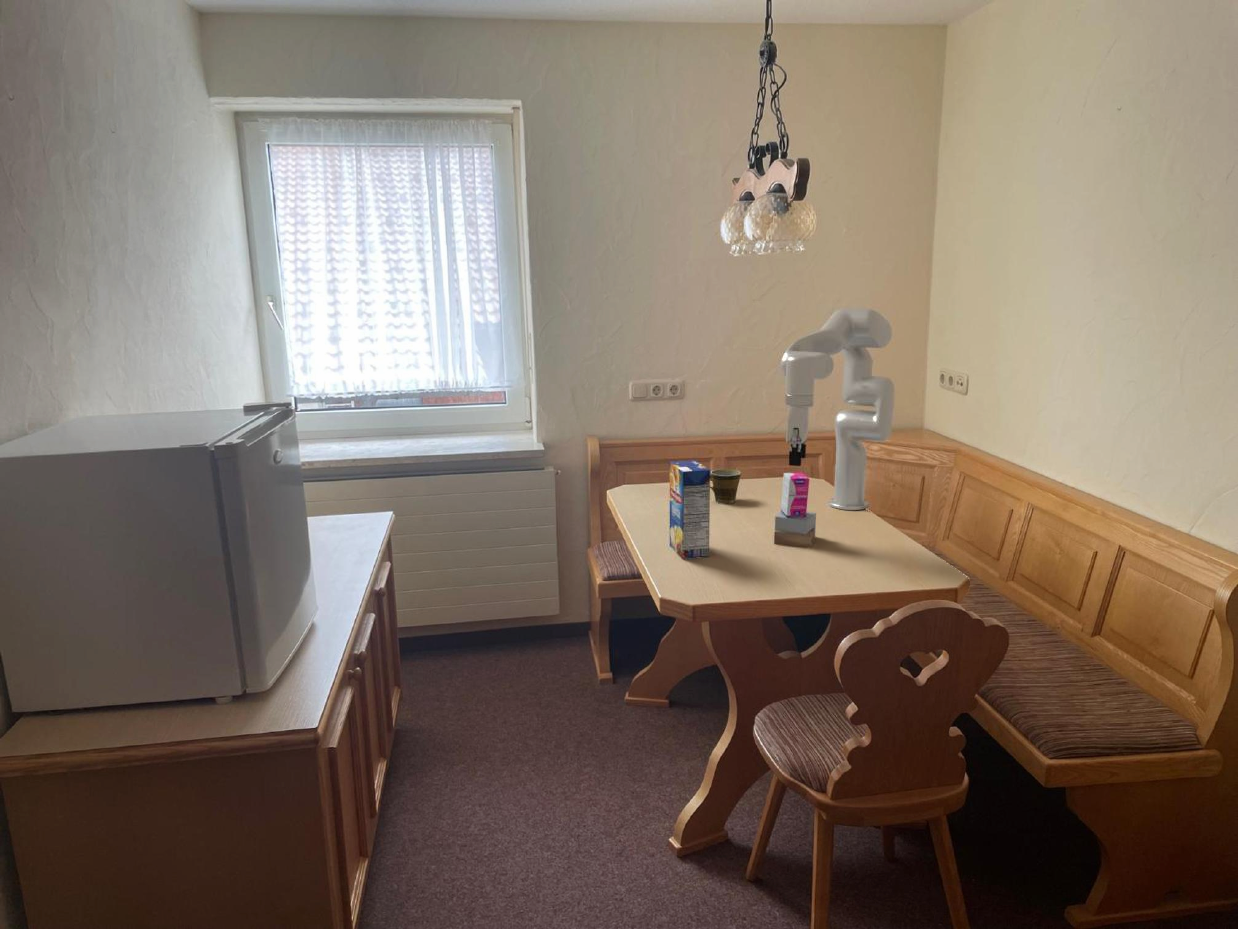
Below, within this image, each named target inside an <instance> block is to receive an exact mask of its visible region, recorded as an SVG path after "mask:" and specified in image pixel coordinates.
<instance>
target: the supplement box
mask: <svg viewBox="0 0 1238 929" xmlns="http://www.w3.org/2000/svg"><path fill="white" fill-rule="evenodd" d="M782 478H783V479H782V491H781V504H780V505H781V506H780V512H782V513H783V514H784V515H785V516H786V517H806V511H808V497H809V489H810V488H809V487H810V486H809V485H810V477H808V476H807V475H806V474H804V472H783V477H782Z"/></svg>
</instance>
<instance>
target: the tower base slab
mask: <svg viewBox="0 0 1238 929" xmlns="http://www.w3.org/2000/svg"><path fill="white" fill-rule="evenodd" d="M816 528H817V526H815V527H814V528H813V529H812V530H811V531H810V532H809V533H808V534H806V535H805V534H798V533H791V532H784V531H777V530H775V529H774V533H773V534H774V535H773V544H774V545H782V546H790V545H791V546H793V547H799V546H804V547H803V548H809V547H810V548H811V547H812V545H813V543H814V541H815V539H816ZM813 540H814V541H813ZM791 546H790V547H791Z"/></svg>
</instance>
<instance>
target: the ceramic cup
mask: <svg viewBox="0 0 1238 929" xmlns="http://www.w3.org/2000/svg"><path fill="white" fill-rule="evenodd" d="M740 481H741V471H739V470H737V469H732V468H731V469H729V468H718V469H714V470H710V482H712V486H710V490H712V492H713V494H714V499H715V503H717V502H718V503H717V504H721V503H730V504H733V502H734V503H736V499H737V494H738V488H739V483H740Z"/></svg>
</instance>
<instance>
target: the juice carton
mask: <svg viewBox="0 0 1238 929" xmlns="http://www.w3.org/2000/svg"><path fill="white" fill-rule="evenodd" d="M710 475H711V469H710V468H708V467H707V466H705V465H703V464H702V463H700V462H698V460H682V461H669V547H670V546H671V547H672V548H673V549H674V550H673V549H672V548H671V547H670V548H671V549H672V550H673V551H674V552H675V551H676V552H675V553H676V554H677V555H678V557H680V558H681V560H690V559H689V558H692V559H698V558H697V557H702V558H709V557H710V516H711V515H710V514H711V513H710V512H711V511H710V507H711V506H710V505H711V504H710V503H711V502H710V500H711V499H710V498H711V497H710V496H711V488H710V487H711V479H710Z"/></svg>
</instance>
